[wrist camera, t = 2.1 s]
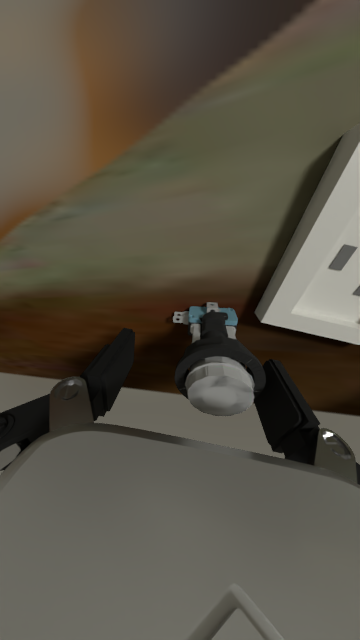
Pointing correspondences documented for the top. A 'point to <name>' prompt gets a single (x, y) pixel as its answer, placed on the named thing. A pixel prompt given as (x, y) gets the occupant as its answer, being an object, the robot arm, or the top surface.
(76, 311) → the top surface
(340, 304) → the socket plate
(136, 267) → the top surface
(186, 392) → the push button
